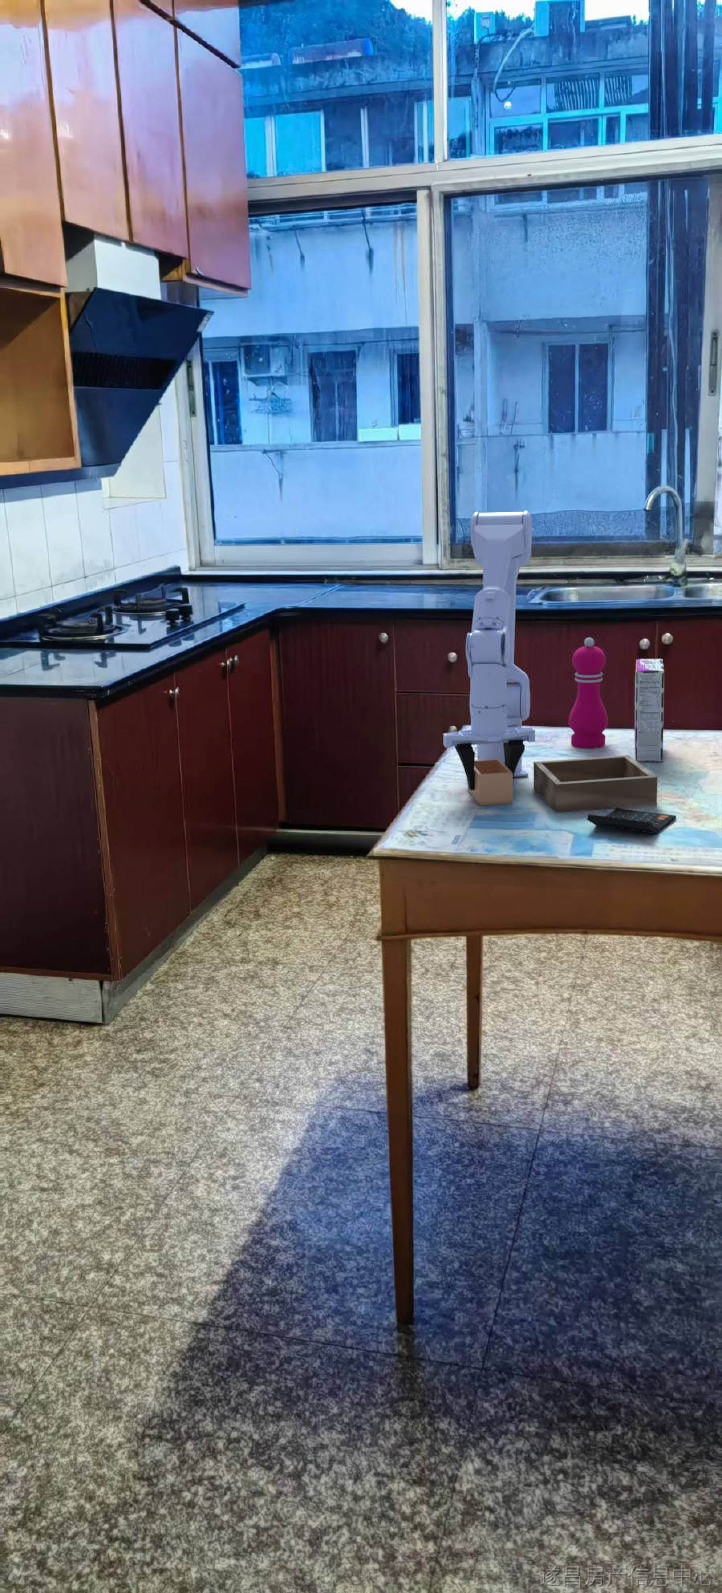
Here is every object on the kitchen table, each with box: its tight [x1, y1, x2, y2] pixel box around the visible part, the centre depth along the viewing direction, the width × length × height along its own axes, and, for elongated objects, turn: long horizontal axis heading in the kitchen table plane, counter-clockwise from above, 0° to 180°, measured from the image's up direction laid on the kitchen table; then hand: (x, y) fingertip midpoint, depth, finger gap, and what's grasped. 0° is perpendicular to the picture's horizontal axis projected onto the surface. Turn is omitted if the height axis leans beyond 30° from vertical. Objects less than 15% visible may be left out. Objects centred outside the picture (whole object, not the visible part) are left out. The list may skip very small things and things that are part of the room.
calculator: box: [586, 808, 677, 835], centre depth 186 cm, size 9×12×3 cm
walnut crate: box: [533, 754, 658, 813], centre depth 201 cm, size 14×16×4 cm
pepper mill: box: [568, 637, 609, 749], centre depth 231 cm, size 7×7×20 cm
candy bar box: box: [634, 658, 665, 763], centre depth 223 cm, size 11×5×16 cm, turn 168°
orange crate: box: [467, 759, 514, 807], centre depth 203 cm, size 9×5×5 cm, turn 7°
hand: (489, 787), depth 203 cm, fingers closed on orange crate, 5 cm apart
